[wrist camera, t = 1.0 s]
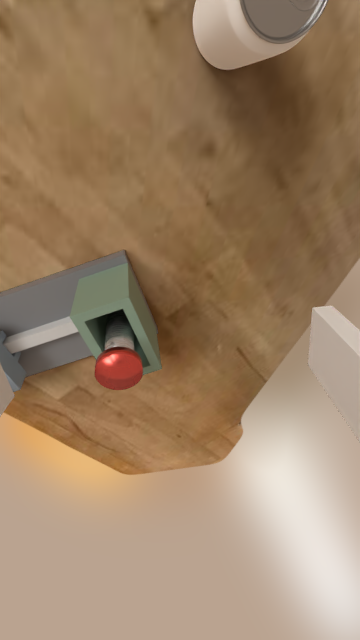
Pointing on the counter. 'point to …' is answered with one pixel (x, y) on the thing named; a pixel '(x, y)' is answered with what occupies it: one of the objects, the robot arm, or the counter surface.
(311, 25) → the can
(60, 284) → the track
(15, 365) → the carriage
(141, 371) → the button
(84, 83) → the counter surface
